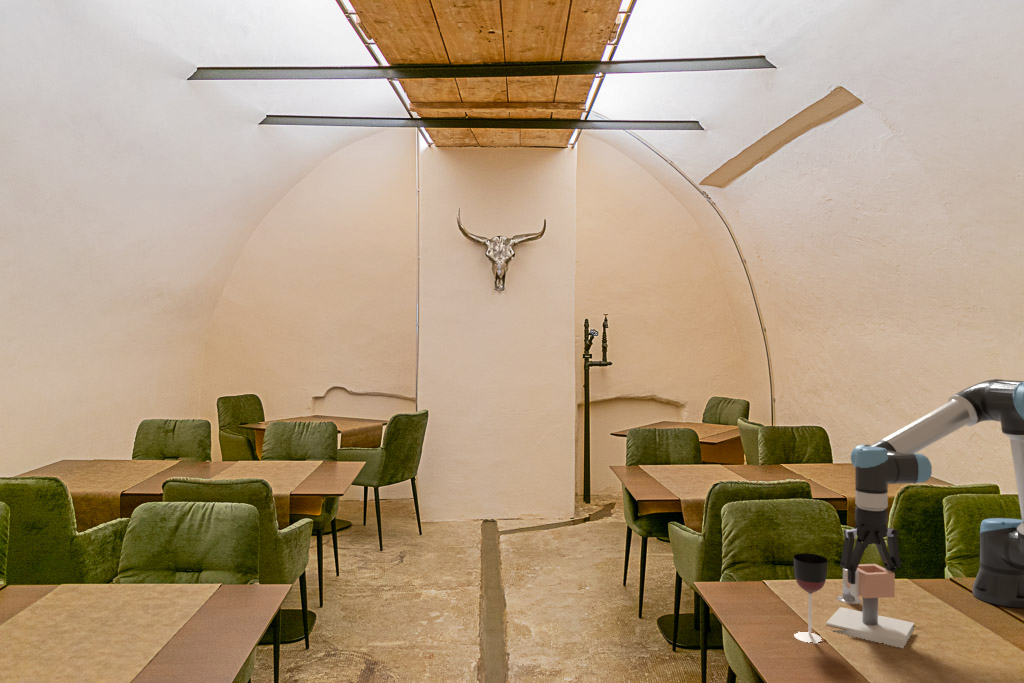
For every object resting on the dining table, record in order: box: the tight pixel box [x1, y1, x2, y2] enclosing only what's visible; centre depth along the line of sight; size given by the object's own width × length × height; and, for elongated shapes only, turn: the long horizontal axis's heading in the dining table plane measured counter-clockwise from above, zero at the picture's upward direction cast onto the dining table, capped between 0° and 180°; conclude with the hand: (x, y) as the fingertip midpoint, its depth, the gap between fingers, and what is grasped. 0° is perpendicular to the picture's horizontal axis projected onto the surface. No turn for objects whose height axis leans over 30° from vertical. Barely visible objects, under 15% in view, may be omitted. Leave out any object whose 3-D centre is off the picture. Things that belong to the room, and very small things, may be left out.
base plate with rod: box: [825, 597, 915, 649], centre depth 193 cm, size 18×14×11 cm
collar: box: [847, 563, 896, 599], centre depth 193 cm, size 8×8×6 cm
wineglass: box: [793, 552, 828, 644], centre depth 189 cm, size 8×9×20 cm
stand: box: [835, 567, 863, 605], centre depth 211 cm, size 7×7×10 cm
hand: (870, 595), depth 193 cm, fingers closed on collar, 8 cm apart
